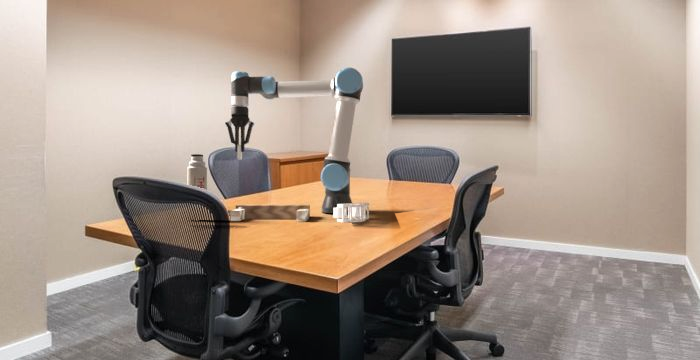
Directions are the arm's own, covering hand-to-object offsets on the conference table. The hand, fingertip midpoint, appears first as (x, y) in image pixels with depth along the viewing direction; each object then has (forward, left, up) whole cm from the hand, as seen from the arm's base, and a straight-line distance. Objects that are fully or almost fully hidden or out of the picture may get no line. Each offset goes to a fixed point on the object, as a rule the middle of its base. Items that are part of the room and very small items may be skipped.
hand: (239, 159), depth 230 cm
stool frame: (-11, +11, -26) cm, 31 cm away
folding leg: (+2, +7, -26) cm, 28 cm away
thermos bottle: (+20, +2, -27) cm, 33 cm away
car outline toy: (-35, +39, -27) cm, 59 cm away
